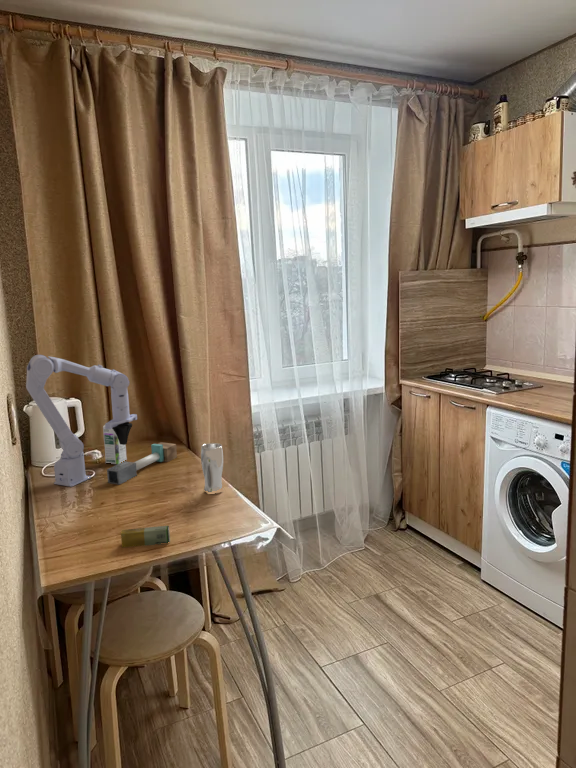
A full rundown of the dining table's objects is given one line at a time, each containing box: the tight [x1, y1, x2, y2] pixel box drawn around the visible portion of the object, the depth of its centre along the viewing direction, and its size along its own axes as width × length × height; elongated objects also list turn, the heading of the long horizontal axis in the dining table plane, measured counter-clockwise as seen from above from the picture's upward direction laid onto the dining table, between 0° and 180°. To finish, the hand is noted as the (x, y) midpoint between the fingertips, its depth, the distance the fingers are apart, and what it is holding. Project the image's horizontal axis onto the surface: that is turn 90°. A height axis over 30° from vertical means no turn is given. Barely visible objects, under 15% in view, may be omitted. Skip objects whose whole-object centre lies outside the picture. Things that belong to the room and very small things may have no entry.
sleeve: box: [106, 460, 138, 486], centre depth 187 cm, size 9×5×5 cm, turn 157°
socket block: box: [158, 441, 178, 463], centre depth 209 cm, size 6×7×5 cm
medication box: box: [120, 525, 171, 548], centre depth 140 cm, size 12×3×4 cm, turn 99°
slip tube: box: [133, 443, 164, 472], centre depth 200 cm, size 20×4×6 cm, turn 157°
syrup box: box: [102, 424, 128, 465], centre depth 205 cm, size 6×6×14 cm
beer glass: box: [200, 442, 224, 492], centre depth 174 cm, size 7×7×15 cm
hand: (123, 444), depth 194 cm, fingers closed
